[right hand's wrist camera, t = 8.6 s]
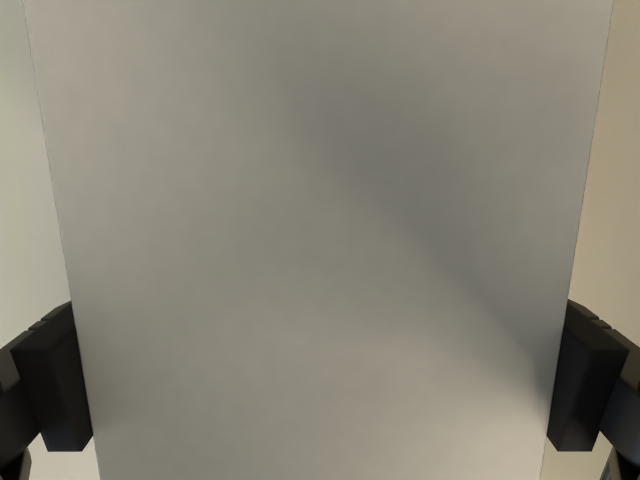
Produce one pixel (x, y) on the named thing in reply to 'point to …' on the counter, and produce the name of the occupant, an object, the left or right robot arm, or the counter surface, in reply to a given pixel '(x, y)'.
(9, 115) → the counter surface
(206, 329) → the cabinet
